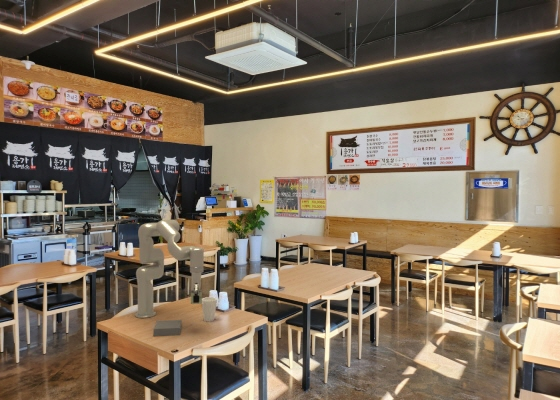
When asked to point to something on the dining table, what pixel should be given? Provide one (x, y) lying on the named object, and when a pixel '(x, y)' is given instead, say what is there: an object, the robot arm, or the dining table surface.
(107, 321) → the dining table surface
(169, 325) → the block
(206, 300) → the foam cup
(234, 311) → the dining table surface
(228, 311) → the dining table surface
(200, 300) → the cube
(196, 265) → the robot arm
